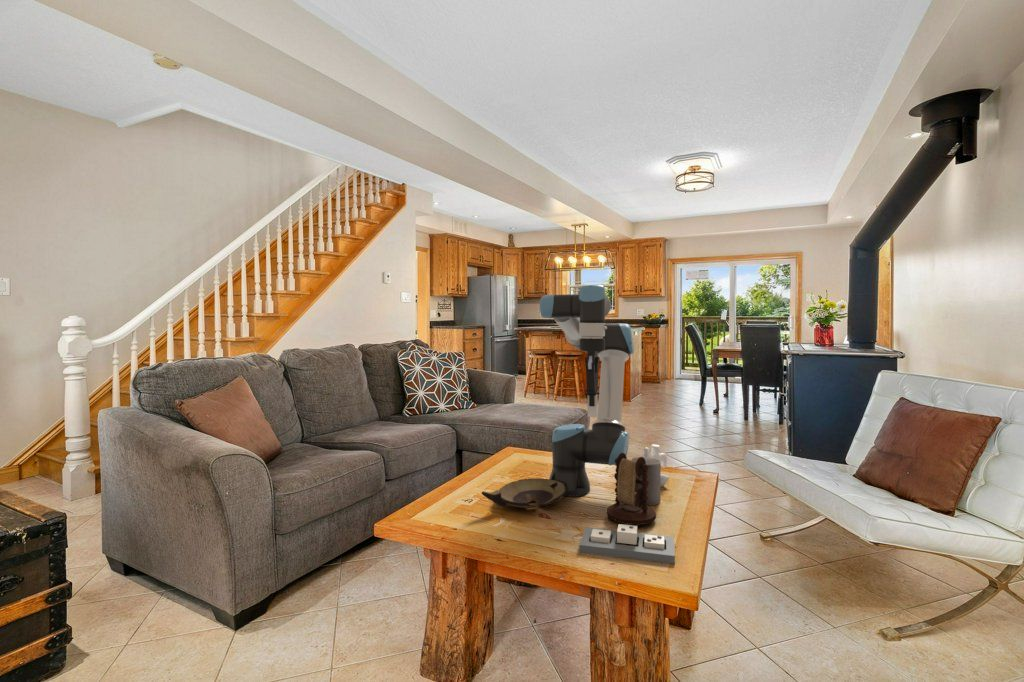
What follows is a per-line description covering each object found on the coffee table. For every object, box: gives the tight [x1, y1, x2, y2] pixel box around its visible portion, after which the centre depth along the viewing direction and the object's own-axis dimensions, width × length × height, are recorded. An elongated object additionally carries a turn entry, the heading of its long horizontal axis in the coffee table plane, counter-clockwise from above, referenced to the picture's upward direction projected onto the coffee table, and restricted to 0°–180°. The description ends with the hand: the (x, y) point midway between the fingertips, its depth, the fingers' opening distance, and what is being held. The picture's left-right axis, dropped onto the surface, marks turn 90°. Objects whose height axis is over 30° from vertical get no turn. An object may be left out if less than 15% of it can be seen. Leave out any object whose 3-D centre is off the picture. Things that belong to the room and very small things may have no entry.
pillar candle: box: [631, 456, 662, 506], centre depth 171 cm, size 10×10×15 cm
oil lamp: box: [481, 477, 566, 509], centre depth 168 cm, size 22×30×8 cm
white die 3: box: [643, 534, 665, 550], centre depth 134 cm, size 5×5×3 cm
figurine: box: [643, 443, 670, 487], centre depth 186 cm, size 7×9×15 cm
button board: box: [578, 526, 676, 564], centre depth 136 cm, size 24×12×2 cm, turn 74°
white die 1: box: [591, 529, 612, 543], centre depth 138 cm, size 5×5×3 cm
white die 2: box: [616, 523, 638, 546], centre depth 136 cm, size 5×5×3 cm
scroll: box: [606, 453, 657, 529], centre depth 155 cm, size 15×15×20 cm
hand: (592, 416), depth 151 cm, fingers closed
